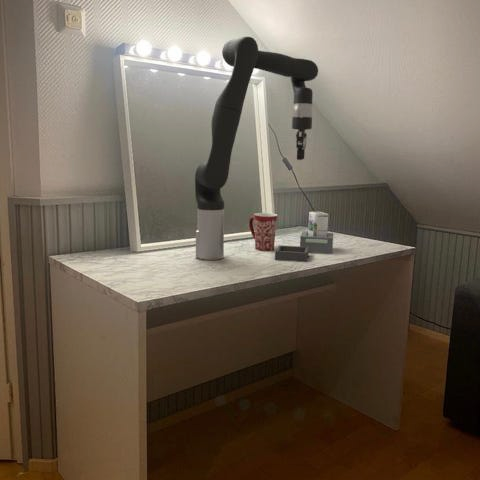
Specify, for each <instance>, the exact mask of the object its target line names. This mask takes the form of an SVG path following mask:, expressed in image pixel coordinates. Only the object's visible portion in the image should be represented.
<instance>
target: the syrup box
mask: <svg viewBox="0 0 480 480" xmlns="http://www.w3.org/2000/svg"><path fill="white" fill-rule="evenodd" d="M328 226H329V213H326V212H322V211H309V212H308V227H307V228H308V229H307V230H308V236H321V237H327V232H328V230H329V229H328V228H329V227H328Z"/></svg>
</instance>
